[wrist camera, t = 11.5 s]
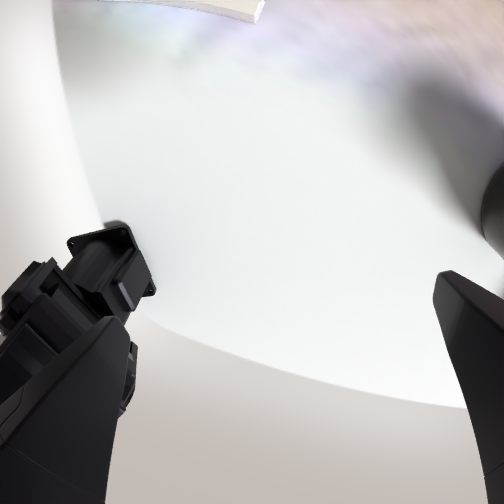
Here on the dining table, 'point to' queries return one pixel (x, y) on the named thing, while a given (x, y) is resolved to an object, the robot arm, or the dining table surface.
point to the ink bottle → (494, 213)
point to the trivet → (217, 7)
